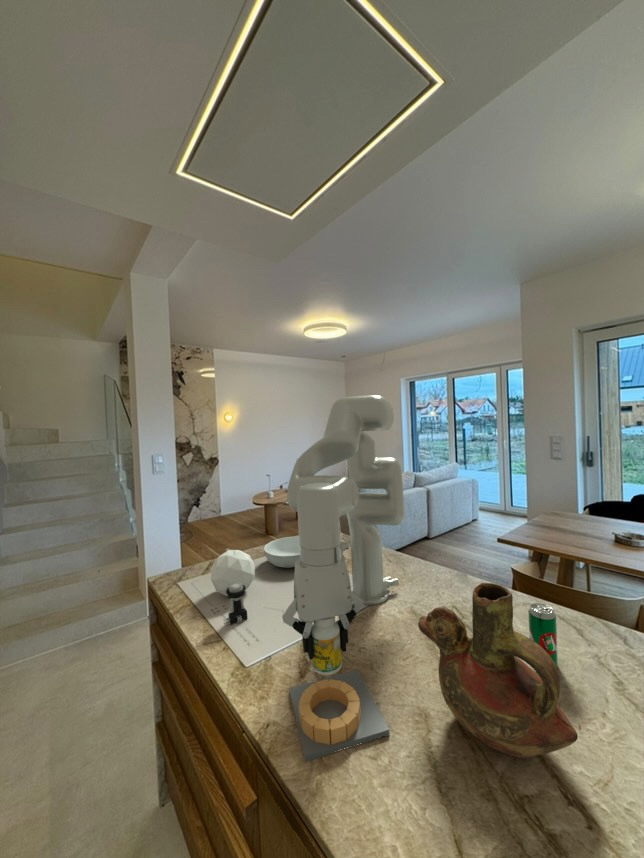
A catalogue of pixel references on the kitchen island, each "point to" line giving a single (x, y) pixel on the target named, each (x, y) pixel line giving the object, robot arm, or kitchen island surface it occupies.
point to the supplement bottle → (326, 646)
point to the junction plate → (370, 717)
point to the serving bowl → (283, 551)
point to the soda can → (543, 628)
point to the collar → (331, 728)
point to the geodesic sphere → (232, 570)
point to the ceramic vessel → (498, 677)
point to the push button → (236, 603)
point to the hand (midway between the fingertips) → (326, 649)
